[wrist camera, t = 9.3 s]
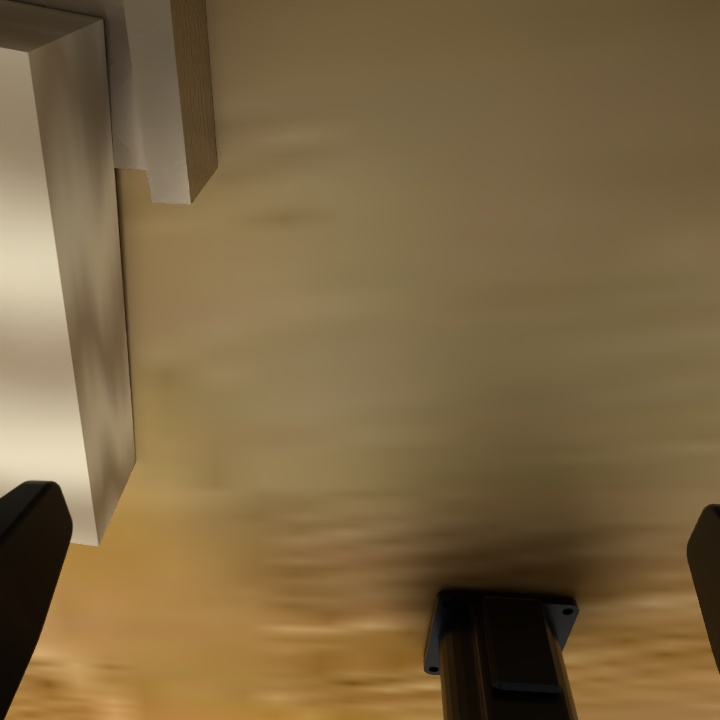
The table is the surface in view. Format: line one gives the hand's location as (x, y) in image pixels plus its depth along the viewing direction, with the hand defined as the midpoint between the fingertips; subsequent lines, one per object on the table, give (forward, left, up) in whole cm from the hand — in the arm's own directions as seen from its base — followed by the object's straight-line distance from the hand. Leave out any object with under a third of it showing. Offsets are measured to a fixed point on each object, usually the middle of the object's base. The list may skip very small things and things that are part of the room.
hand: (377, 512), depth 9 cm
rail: (-3, +10, -12) cm, 15 cm away
